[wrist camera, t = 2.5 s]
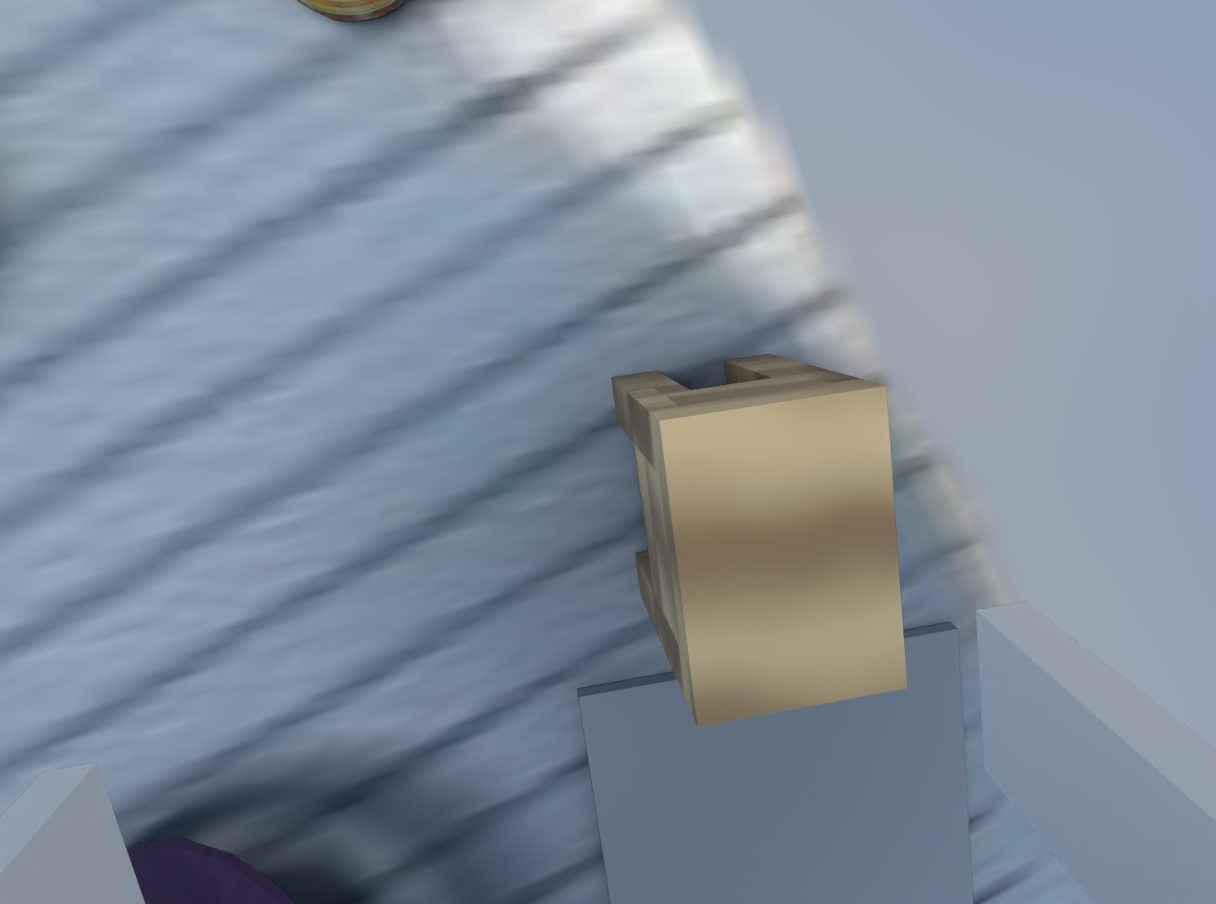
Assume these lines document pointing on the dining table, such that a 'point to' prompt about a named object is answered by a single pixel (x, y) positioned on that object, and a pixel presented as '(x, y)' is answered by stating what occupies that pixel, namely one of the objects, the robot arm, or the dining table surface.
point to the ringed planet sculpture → (198, 875)
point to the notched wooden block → (768, 535)
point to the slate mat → (786, 793)
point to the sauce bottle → (352, 8)
